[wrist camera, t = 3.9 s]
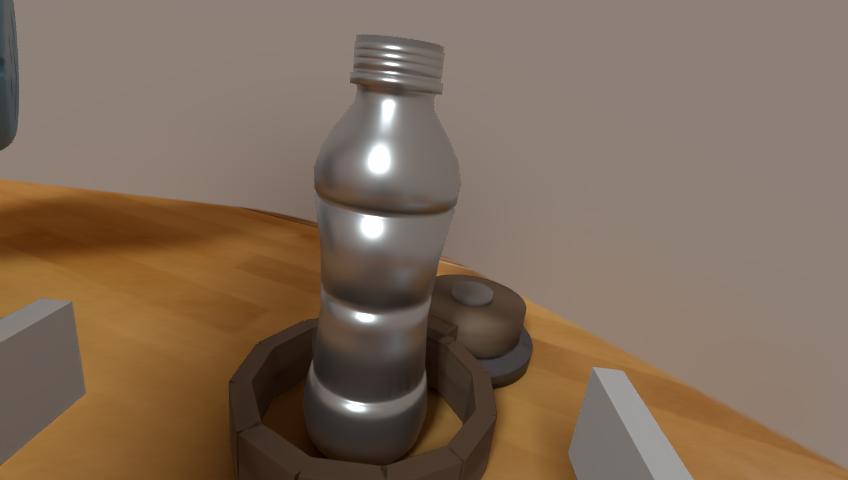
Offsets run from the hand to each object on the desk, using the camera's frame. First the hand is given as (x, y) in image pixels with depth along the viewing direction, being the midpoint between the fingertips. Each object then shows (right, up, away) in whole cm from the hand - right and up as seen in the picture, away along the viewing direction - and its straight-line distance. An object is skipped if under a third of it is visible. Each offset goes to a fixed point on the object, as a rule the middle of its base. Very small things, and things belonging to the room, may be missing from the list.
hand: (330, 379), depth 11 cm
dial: (+2, -6, +17) cm, 18 cm away
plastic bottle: (-1, -7, +13) cm, 15 cm away
